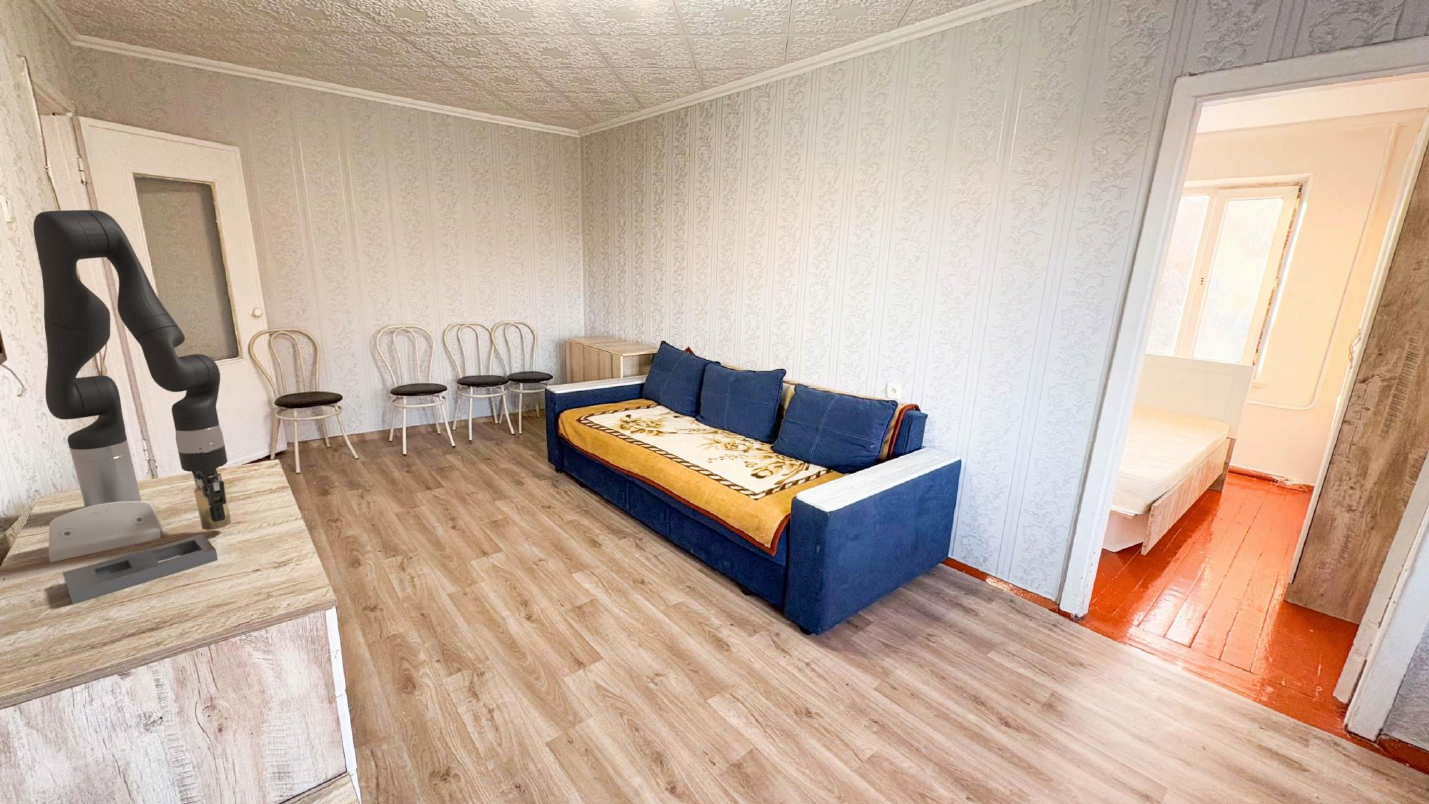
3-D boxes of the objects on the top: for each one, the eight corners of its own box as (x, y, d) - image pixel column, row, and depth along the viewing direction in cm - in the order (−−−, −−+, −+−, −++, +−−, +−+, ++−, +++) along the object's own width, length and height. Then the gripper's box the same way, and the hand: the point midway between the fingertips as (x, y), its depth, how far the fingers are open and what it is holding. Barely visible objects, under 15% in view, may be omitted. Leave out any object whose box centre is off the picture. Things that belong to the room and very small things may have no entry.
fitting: (198, 524, 124) (191, 488, 121) (227, 517, 127) (220, 481, 125) (205, 531, 121) (197, 494, 118) (234, 523, 125) (227, 487, 122)
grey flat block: (65, 584, 104) (62, 572, 103) (205, 544, 120) (202, 534, 119) (72, 604, 98) (69, 592, 98) (217, 560, 114) (215, 549, 113)
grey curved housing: (47, 563, 110) (38, 514, 111) (53, 561, 114) (44, 514, 114) (162, 537, 122) (154, 494, 122) (165, 537, 125) (157, 494, 125)
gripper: (169, 442, 120) (184, 513, 125) (187, 458, 112) (202, 532, 117) (214, 435, 126) (226, 502, 131) (233, 449, 118) (246, 520, 123)
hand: (215, 516), depth 124 cm, fingers closed on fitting, 5 cm apart
